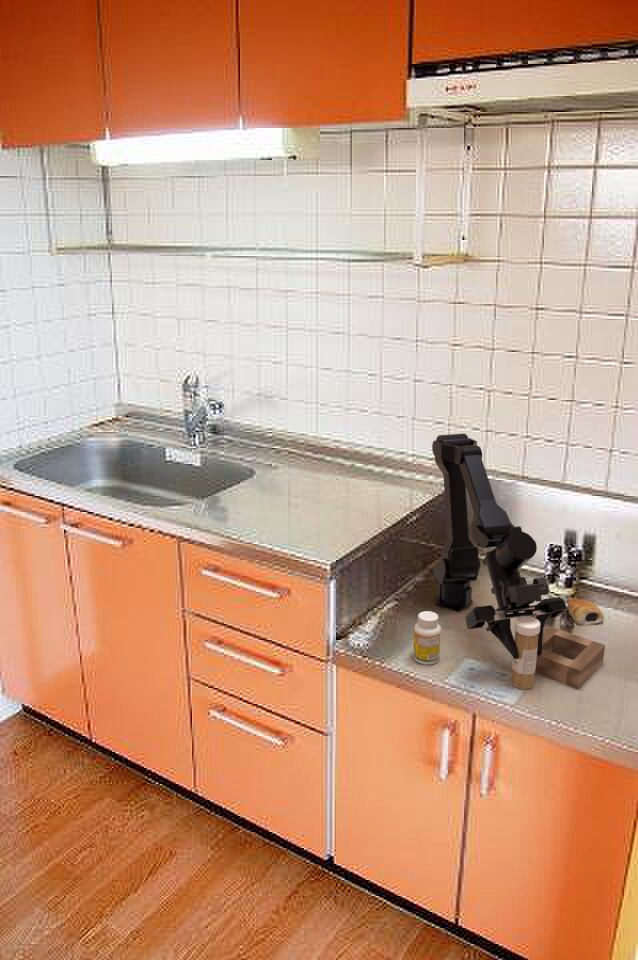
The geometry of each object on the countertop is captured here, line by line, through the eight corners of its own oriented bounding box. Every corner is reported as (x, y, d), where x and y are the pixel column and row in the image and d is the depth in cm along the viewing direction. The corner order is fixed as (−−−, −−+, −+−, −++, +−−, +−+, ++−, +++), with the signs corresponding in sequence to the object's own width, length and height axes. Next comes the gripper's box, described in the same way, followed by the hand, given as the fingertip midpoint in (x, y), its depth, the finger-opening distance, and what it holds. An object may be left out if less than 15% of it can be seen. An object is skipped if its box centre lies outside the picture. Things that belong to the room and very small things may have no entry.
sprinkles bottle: (506, 677, 152) (511, 615, 148) (529, 676, 153) (535, 614, 148) (514, 691, 148) (520, 627, 144) (538, 689, 148) (544, 626, 144)
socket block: (519, 667, 156) (521, 649, 154) (546, 642, 164) (548, 625, 163) (578, 689, 148) (580, 670, 147) (602, 662, 157) (605, 645, 156)
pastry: (559, 607, 180) (560, 592, 179) (586, 605, 181) (588, 590, 179) (577, 627, 171) (579, 611, 170) (606, 625, 172) (609, 609, 171)
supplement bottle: (435, 667, 156) (437, 624, 153) (409, 662, 158) (411, 619, 155) (442, 654, 160) (445, 612, 157) (417, 649, 162) (419, 607, 159)
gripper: (475, 568, 144) (497, 652, 138) (567, 558, 148) (593, 639, 142) (456, 588, 154) (476, 667, 148) (543, 578, 158) (566, 655, 152)
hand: (528, 657), depth 147 cm, fingers closed on sprinkles bottle, 4 cm apart
